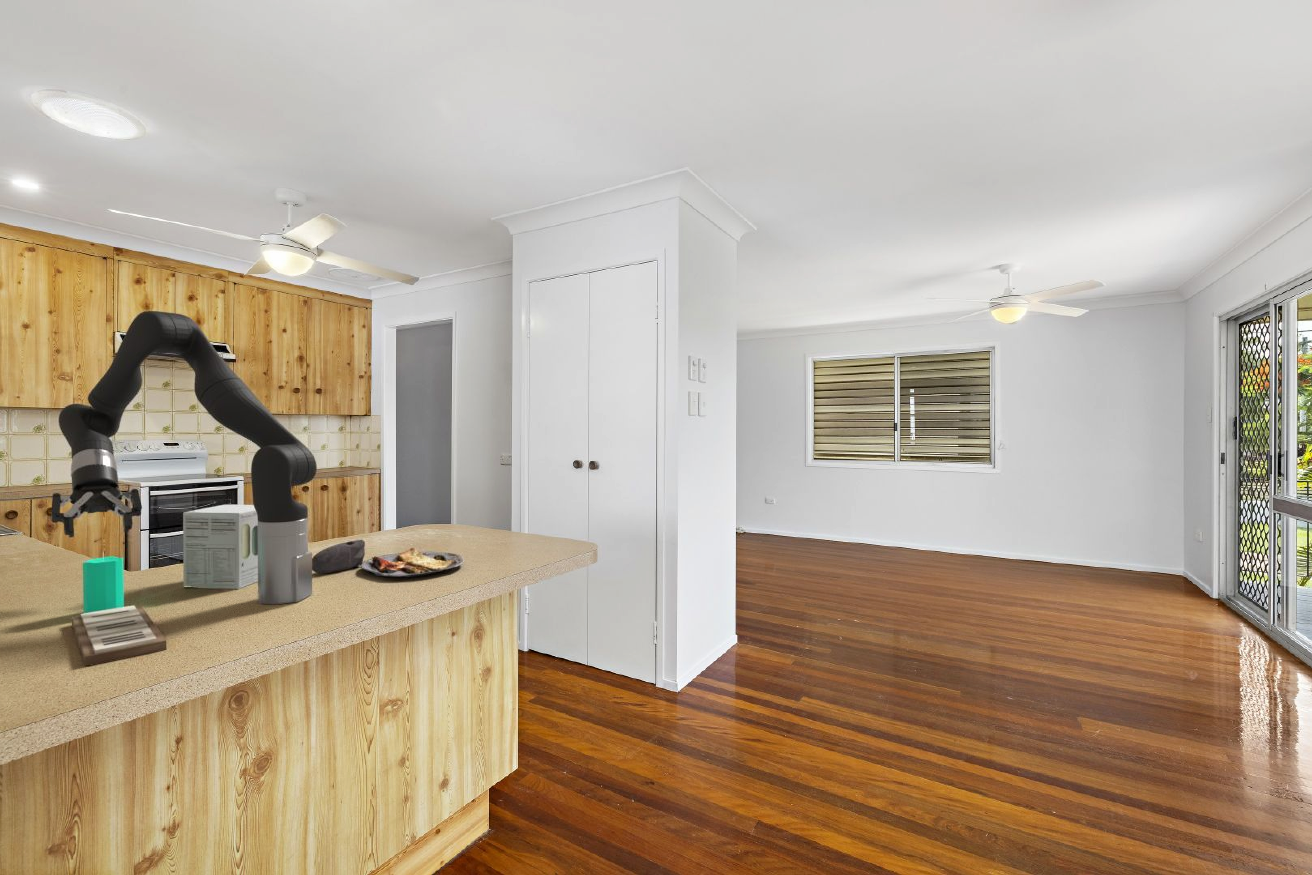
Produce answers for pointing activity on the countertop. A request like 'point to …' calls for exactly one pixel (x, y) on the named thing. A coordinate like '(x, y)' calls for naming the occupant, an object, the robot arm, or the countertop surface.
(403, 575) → the food plate
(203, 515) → the supplement box
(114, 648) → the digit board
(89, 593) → the candle
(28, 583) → the countertop surface
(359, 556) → the perforated stone tool
